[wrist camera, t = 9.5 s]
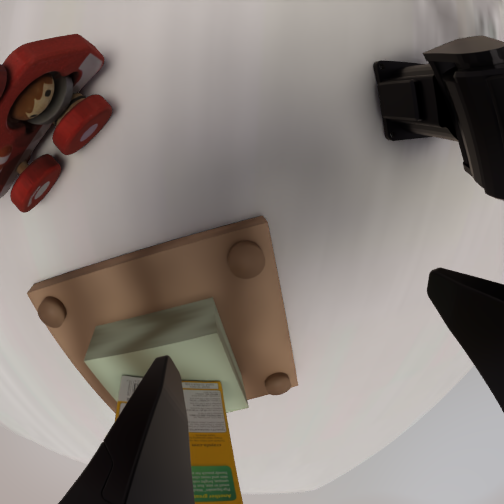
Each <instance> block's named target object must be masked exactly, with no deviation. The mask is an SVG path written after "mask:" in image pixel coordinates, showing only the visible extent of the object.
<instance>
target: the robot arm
mask: <svg viewBox="0 0 504 504" xmlns="http://www.w3.org/2000/svg"><path fill="white" fill-rule="evenodd" d="M423 54H424V56H425V59H426V61H428V62H429V64H417V63H407V62H396V61H377V62H375V63H374V69H375V74H376V79H377V84H378V92H379V98H380V104H381V111H382V116H383V122H384V130H385V136H386V138H387V139H388V140H392V141H396V140H405V139H414V138H424V137H438V138H443V139H448V140H453V141H458V142H459V145H460V149H461V153H462V156H463V160H464V162H463V166H464V170H465V171H466V172H467V173H469V174H470V175H471V176H472V177H473V178H474V180H475V181H476V182H477V183H478V184H479V185H480V186H481V187H483V188H484V190H485V193H486V194H487V195H489V196H492V197H494V198H496V199H500V200H503V201H504V42H502V41H499V40H496V39H492V38H489V37H485V36H474V37H467V38H461V39H456V40H454V41H451V42H448V43H446V44H443V45H441V46H439V47H436V48H434V49H431V50H429V51H427V52H424V53H423ZM379 65H381V67H382V69H381V68H380V67H379ZM391 132H392V137H391V135H390V134H391ZM427 294H428V296H429V298H430V300H431V301H432V303H433V304H434V306H435V307H436V309H437V311H438V312H439V314H440V315H441V317H442V319H443V320H444V322H445V324H446V325H447V327H448V328H449V330H450V331H451V332H452V334H453V335H454V337H455V338H456V339H457V341H458V342H459V343H460V345H461V346H462V348H463V349H464V350H465V352H466V353H467V355H468V356H469V358H470V359H471V361H472V362H473V364H474V365H475V366H476V368H477V370H478V371H479V373H480V374H481V376H482V377H483V379H484V380H485V382H486V384H487V385H488V386H489V388H490V390H491V392H492V393H493V395H494V396H495V398H496V400H497V401H498V403H499V405H500V407H501V408H502V410H503V412H504V285H503V284H500V283H496V282H492V281H489V280H485V279H481V278H478V277H474V276H470V275H467V274H463V273H459V272H455V271H451V270H447V269H444V268H437V269H434V270H432V271H431V272H430V274H429V280H428V287H427ZM58 504H195V500H194V491H193V481H192V470H191V458H190V444H189V428H188V418H187V411H186V406H185V400H184V393H183V387H182V380H181V376H180V373H179V371H178V369H177V367H176V366H175V364H174V362H173V361H172V359H171V357H170V356H168V355H165V356H160V357H157V358H155V360H154V361H153V363H152V364H151V366H150V367H149V369H148V370H147V372H146V374H145V375H144V377H143V378H142V380H141V381H140V383H139V384H138V386H137V388H136V389H135V391H134V392H133V394H132V395H131V397H130V399H129V400H128V402H127V403H126V405H125V407H124V408H123V410H122V411H121V413H120V415H119V416H118V418H117V419H116V421H115V423H114V424H113V426H112V427H111V429H110V431H109V432H108V434H107V435H106V437H105V439H104V442H102V443H101V445H100V447H99V448H98V450H97V452H96V453H95V455H94V456H93V458H92V459H91V461H90V462H89V464H88V465H87V467H86V468H85V470H84V471H83V472H82V474H81V475H80V476H79V478H78V479H77V480H76V482H75V483H74V484H73V486H72V487H71V488H70V489H69V491H68V492H67V493H66V495H65V496H64V497H63V499H62V500H61V501H60V502H59V503H58Z"/></svg>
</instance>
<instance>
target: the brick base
mask: <svg viewBox="0 0 504 504" xmlns="http://www.w3.org/2000/svg"><path fill="white" fill-rule="evenodd" d="M27 294H28V296H29V298H30V300H31V302H32V303H33V305H34V307H35V308H36V310H37V312H38V315H39V317H40V319H41V320H42V322H43V323H45V325H46V326H47V328H48V329H49V331H50V332H51V334H52V335H53V337H54V338H55V340H56V341H57V343H58V344H59V345H60V347H61V348H62V350H63V351H64V352H65V354H66V355H67V356H68V358H69V359H70V360H71V362H72V363H73V364H74V366H75V367H76V368H77V370H78V371H79V372H80V373H81V375H82V376H83V377H84V378H85V380H86V381H87V382H88V383H89V384H90V386H91V387H92V388H93V389H94V390H95V391H96V393H97V394H98V395H99V396H100V397H101V398H102V399H103V401H104V402H105V403H106V404H107V405H108V406H109V407H110V408H111V409H112V410H113V411H114V412H115V413H116V409H117V402H118V396H119V389H120V383H121V377H122V376H123V375H128V376H131V377H140V378H143V377H144V375H145V374H146V372H147V370H148V369H149V367H150V366H151V364H152V363H153V361H154V360H155V358H157V357H160V356H165V355H168V356H170V357H171V359H172V361H173V362H174V364H175V366H176V367H177V369H178V371H179V373H180V376H181V380H182V381H202V382H211V381H220V382H221V384H222V389H223V396H224V403H225V409H226V413H228V412H232V411H237V410H241V409H245V408H249V407H248V402H247V400H249V399H253V398H257V397H261V396H264V395H268V394H271V395H280V394H283V393H285V392H287V391H288V390H289V389H290V388H291V387H294V386H298V382H297V376H296V370H295V365H294V359H293V353H292V348H291V342H290V336H289V331H288V325H287V320H286V314H285V309H284V304H283V298H282V293H281V288H280V283H279V277H278V272H277V267H276V262H275V257H274V252H273V247H272V242H271V237H270V232H269V227H268V222H267V221H266V219H265V218H264V217H263V216H259V217H255V218H251V219H248V220H244V221H240V222H236V223H233V224H229V225H225V226H222V227H218V228H214V229H211V230H207V231H204V232H200V233H196V234H193V235H189V236H186V237H182V238H179V239H175V240H172V241H169V242H165V243H162V244H158V245H155V246H152V247H148V248H145V249H142V250H138V251H135V252H132V253H128V254H125V255H122V256H119V257H115V258H112V259H109V260H106V261H103V262H99V263H96V264H93V265H90V266H87V267H84V268H81V269H78V270H74V271H71V272H68V273H65V274H62V275H59V276H56V277H53V278H50V279H47V280H44V281H41V282H39V283H36V284H34V285H33V286H32V287H31V289H30V290H29V291H28V293H27Z"/></svg>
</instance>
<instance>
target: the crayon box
mask: <svg viewBox="0 0 504 504" xmlns="http://www.w3.org/2000/svg"><path fill="white" fill-rule="evenodd" d="M141 380H142V378H140V377H131V376H128V375H123V376H122V377H121V383H120V389H119V396H118V402H117V409H116V417H115V421H116V419H117V418H118V416H119V415H120V413H121V411H122V410H123V408H124V407H125V405H126V403H127V402H128V400H129V399H130V397H131V395H132V394H133V392H134V391H135V389H136V388H137V386H138V384H139V383H140V381H141ZM182 387H183V393H184V400H185V406H186V411H187V418H188V428H189V444H190V458H191V470H192V481H193V491H194V500H195V504H243V501H242V497H241V492H240V487H239V482H238V477H237V472H236V466H235V461H234V455H233V449H232V444H231V439H230V433H229V427H228V422H227V415H226V409H225V403H224V396H223V389H222V384H221V382H220V381H211V382H202V381H182Z"/></svg>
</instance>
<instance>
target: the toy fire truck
mask: <svg viewBox="0 0 504 504" xmlns="http://www.w3.org/2000/svg"><path fill="white" fill-rule="evenodd" d="M103 64H104V57H103V55H102V54H101V53H100V52H99V51H98V50H97V49H96V47H95V46H93V45H92V44H91V43H90V42H88V41H87V40H86V39H84V38H83V37H82V36H81V35H78V34H72V35H67V36H60V37H54V38H49V39H45V40H39V41H35V42H31V43H27V44H24V45H22V46H20V47H18V48H17V49H16V50H14V51H13V52H12V53H11V54H10V55H9V56H8V58H7V59H6V60H5V62H4V63H3V64H2V65H0V198H1V197H3V196H4V195H5V194H6V193H7V192H8V190H9V189H10V187H11V185H12V184H13V182H14V180H15V178H16V177H17V175H18V174H20V176H19V177H18V178H17V180H16V182H15V184H14V185H13V188H12V190H11V195H10V197H11V201H12V202H13V203H14V204H15V206H16V207H17V208H18V209H19V210H20V211H21V212H28V211H30V210H31V209H32V208H33V207H35V206H36V205H37V204H38V203H39V202H40V201H41V200H42V199H43V198H44V197H45V195H46V194H47V193H48V192H49V190H50V189H51V188H52V186H53V185H54V184H55V182H56V180H57V179H58V177H59V175H60V172H61V167H60V165H59V163H58V162H57V161H56V160H55V159H54V158H53V157H52V156H51V155H49V154H45V155H42V156H40V157H39V158H37V159H36V160H34V161H33V162H31V163H30V165H29V164H28V162H29V160H30V157H31V153H32V151H33V150H34V148H35V147H36V145H37V144H38V142H39V141H40V140H41V138H42V137H43V136H44V134H45V133H46V132H47V130H48V129H49V127H50V126H51V125H52V123H53V124H54V125H55V126H56V128H55V130H54V133H53V137H52V139H53V143H54V144H55V146H57V148H58V149H59V150H60V151H61V152H62V153H63V154H65V155H70V154H73V153H75V152H77V151H78V150H79V149H81V148H82V147H83V146H84V145H86V144H87V143H88V142H89V141H90V140H91V139H92V138H93V137H94V136H95V135H96V134H97V133H98V132H99V131H100V130H101V129H102V128H103V126H104V125H105V124H106V122H107V121H108V119H109V118H110V116H111V114H112V108H111V106H110V105H109V103H108V102H107V101H106V100H105V99H104V98H103V97H102V96H100V95H96V94H95V95H91V96H89V97H87V98H86V96H83V95H82V94H80V93H78V92H79V91H80V90H81V89H82V88H83V87H84V86H85V85H86V83H87V82H88V81H89V80H90V79H91V78H92V77H93V76H94V75H95V74H96V73H97V72H98V71H99V70H100V69H101V67H102V66H103Z"/></svg>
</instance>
